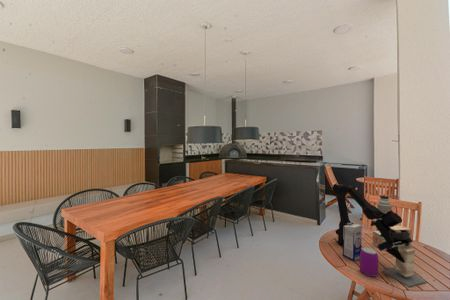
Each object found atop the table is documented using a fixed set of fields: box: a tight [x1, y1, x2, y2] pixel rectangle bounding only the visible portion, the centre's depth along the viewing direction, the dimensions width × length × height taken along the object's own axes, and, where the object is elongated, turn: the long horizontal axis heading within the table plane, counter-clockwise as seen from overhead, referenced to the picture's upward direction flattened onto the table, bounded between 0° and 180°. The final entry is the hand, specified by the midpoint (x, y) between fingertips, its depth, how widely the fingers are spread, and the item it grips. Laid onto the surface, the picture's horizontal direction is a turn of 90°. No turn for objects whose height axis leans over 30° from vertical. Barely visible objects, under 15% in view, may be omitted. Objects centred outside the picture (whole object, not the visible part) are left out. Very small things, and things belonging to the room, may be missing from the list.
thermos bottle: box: [376, 195, 392, 231], centre depth 152 cm, size 8×8×28 cm
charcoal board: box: [382, 267, 428, 288], centre depth 104 cm, size 12×12×1 cm
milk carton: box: [342, 222, 363, 262], centre depth 122 cm, size 7×7×20 cm
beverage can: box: [359, 246, 379, 277], centre depth 107 cm, size 8×8×12 cm
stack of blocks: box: [372, 224, 412, 248], centre depth 135 cm, size 21×6×12 cm, turn 95°
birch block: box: [394, 245, 416, 277], centre depth 104 cm, size 5×5×13 cm
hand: (407, 261), depth 103 cm, fingers closed on birch block, 5 cm apart
